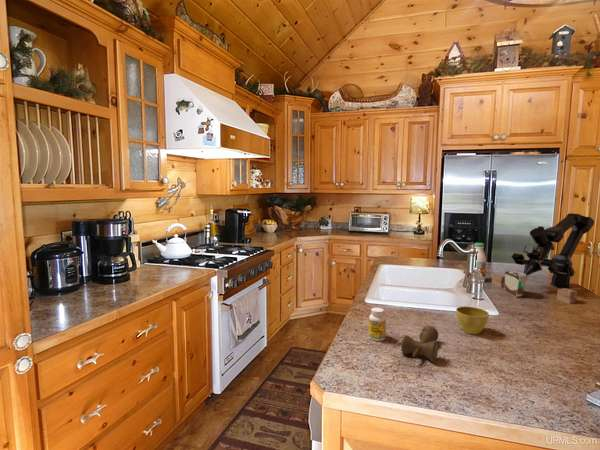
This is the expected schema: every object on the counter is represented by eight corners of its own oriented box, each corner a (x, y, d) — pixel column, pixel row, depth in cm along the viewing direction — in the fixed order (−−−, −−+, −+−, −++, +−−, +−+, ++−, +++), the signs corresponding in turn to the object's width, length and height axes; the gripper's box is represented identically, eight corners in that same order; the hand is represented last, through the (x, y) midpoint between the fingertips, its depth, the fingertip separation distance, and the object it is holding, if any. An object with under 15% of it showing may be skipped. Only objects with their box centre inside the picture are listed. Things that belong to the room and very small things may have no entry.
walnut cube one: (498, 283, 180) (499, 273, 179) (507, 286, 175) (508, 276, 174) (491, 284, 178) (492, 274, 177) (500, 287, 173) (501, 277, 172)
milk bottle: (469, 281, 183) (471, 243, 181) (468, 277, 190) (470, 241, 188) (485, 283, 180) (488, 244, 178) (484, 279, 187) (486, 242, 185)
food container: (532, 299, 155) (534, 277, 154) (518, 299, 155) (520, 277, 154) (515, 290, 167) (517, 270, 166) (502, 290, 168) (504, 270, 166)
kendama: (446, 345, 111) (431, 371, 94) (415, 338, 116) (396, 362, 100) (446, 327, 111) (431, 349, 94) (415, 321, 116) (396, 341, 99)
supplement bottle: (385, 335, 116) (386, 307, 115) (384, 342, 111) (385, 313, 110) (369, 333, 118) (370, 305, 117) (367, 340, 113) (368, 311, 112)
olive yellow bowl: (461, 323, 128) (462, 304, 127) (491, 331, 120) (493, 311, 120) (450, 331, 121) (451, 311, 120) (481, 340, 113) (483, 319, 113)
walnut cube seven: (563, 298, 156) (564, 287, 155) (576, 302, 152) (577, 290, 151) (556, 300, 154) (557, 289, 153) (569, 303, 149) (570, 292, 149)
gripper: (515, 236, 171) (498, 260, 168) (556, 242, 154) (538, 269, 151) (524, 251, 175) (508, 275, 172) (565, 258, 158) (548, 285, 155)
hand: (524, 275), depth 162 cm, fingers closed
